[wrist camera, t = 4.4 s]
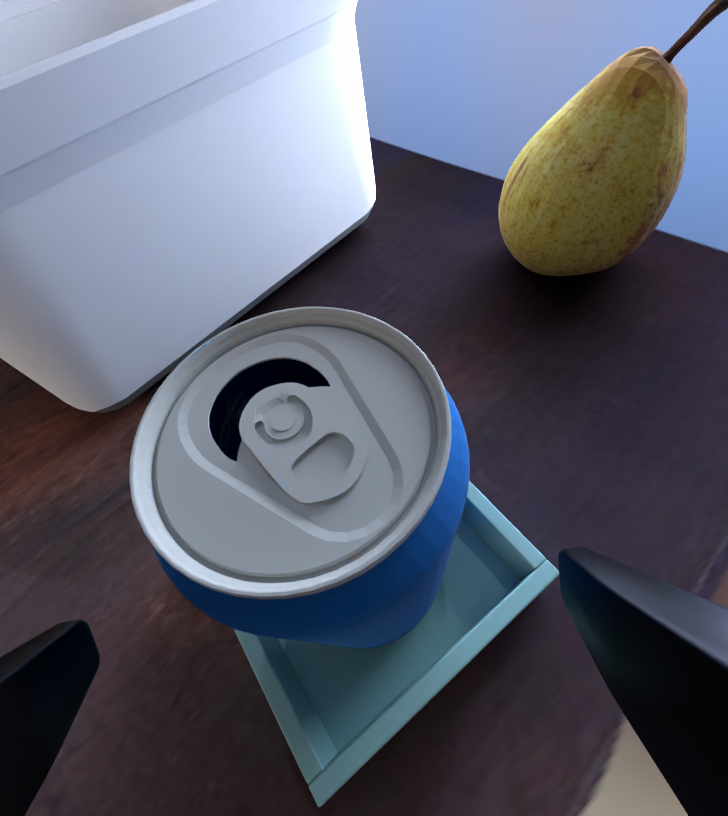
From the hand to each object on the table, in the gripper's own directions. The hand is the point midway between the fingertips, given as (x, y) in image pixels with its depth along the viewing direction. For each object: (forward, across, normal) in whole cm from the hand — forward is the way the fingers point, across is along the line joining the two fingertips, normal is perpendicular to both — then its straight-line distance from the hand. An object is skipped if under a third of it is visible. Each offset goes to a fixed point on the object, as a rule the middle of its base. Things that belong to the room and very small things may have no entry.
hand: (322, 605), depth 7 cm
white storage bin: (+27, +12, -13) cm, 33 cm away
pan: (+9, 0, +5) cm, 10 cm away
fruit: (+22, -15, -7) cm, 27 cm away
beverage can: (+9, 0, +5) cm, 10 cm away
